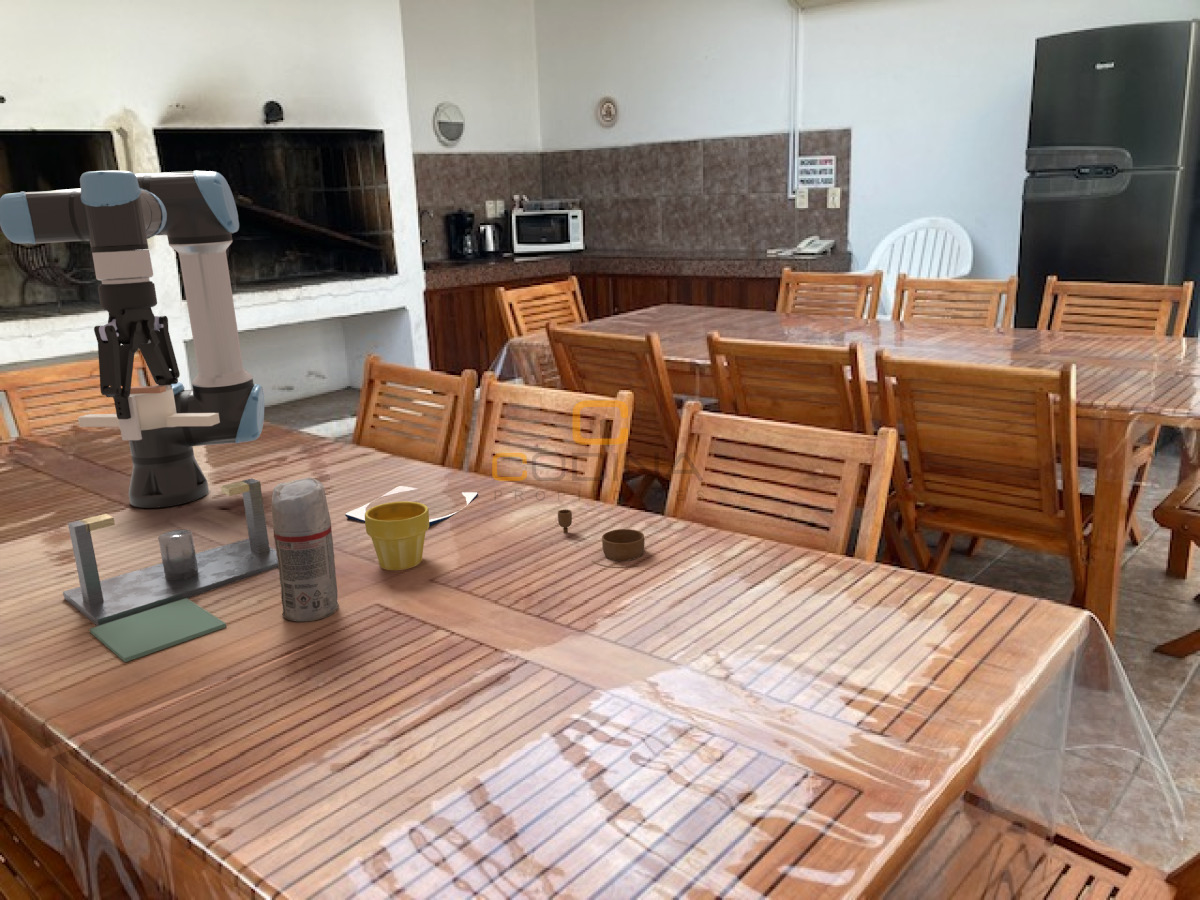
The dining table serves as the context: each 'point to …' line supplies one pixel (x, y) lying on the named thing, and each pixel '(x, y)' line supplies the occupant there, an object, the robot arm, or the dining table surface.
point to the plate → (360, 512)
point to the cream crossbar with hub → (153, 411)
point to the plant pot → (398, 533)
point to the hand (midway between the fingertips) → (150, 432)
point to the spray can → (304, 550)
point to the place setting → (613, 541)
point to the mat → (156, 629)
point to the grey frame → (169, 565)
